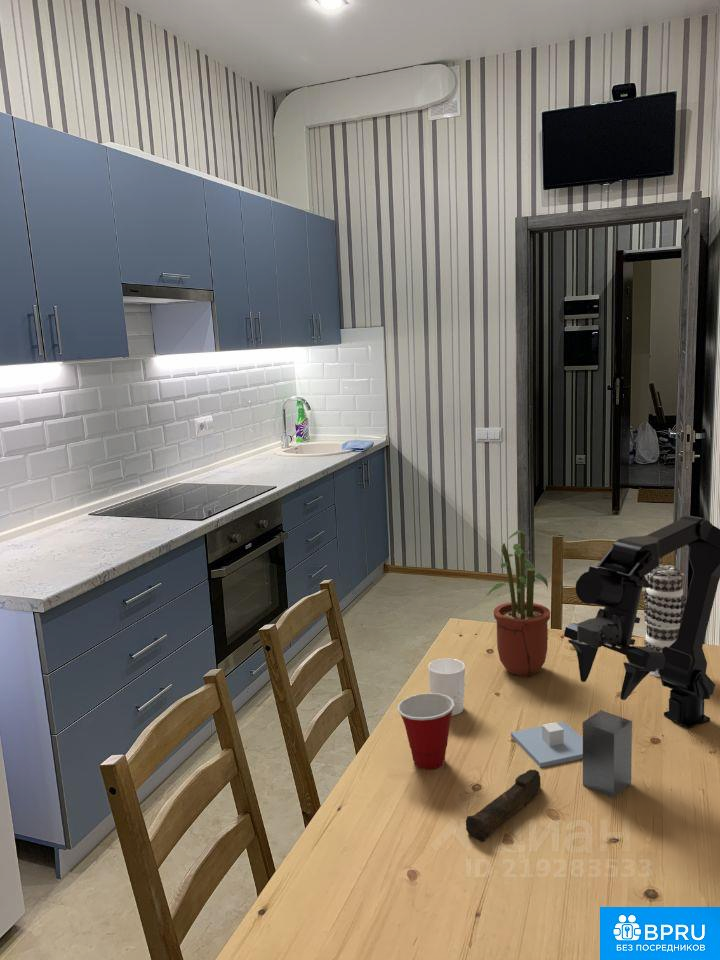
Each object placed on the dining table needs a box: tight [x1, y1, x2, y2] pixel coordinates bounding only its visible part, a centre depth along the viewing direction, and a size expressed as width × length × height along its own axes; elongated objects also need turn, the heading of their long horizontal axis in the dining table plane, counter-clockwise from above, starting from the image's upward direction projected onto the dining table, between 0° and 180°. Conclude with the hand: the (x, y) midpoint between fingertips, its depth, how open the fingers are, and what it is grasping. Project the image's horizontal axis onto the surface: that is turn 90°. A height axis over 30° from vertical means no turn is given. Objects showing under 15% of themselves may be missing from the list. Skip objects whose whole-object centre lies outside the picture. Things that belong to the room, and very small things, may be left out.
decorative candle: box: [642, 564, 687, 678], centre depth 175 cm, size 9×9×25 cm
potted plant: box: [482, 530, 551, 676], centre depth 180 cm, size 17×16×35 cm
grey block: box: [582, 709, 633, 799], centre depth 133 cm, size 6×6×12 cm
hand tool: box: [465, 769, 542, 842], centre depth 127 cm, size 19×4×5 cm, turn 132°
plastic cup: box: [397, 692, 454, 771], centre depth 143 cm, size 11×11×12 cm
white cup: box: [427, 657, 466, 717], centre depth 163 cm, size 8×8×10 cm
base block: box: [510, 721, 583, 768], centre depth 147 cm, size 12×12×4 cm
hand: (602, 690), depth 139 cm, fingers open, 9 cm apart
